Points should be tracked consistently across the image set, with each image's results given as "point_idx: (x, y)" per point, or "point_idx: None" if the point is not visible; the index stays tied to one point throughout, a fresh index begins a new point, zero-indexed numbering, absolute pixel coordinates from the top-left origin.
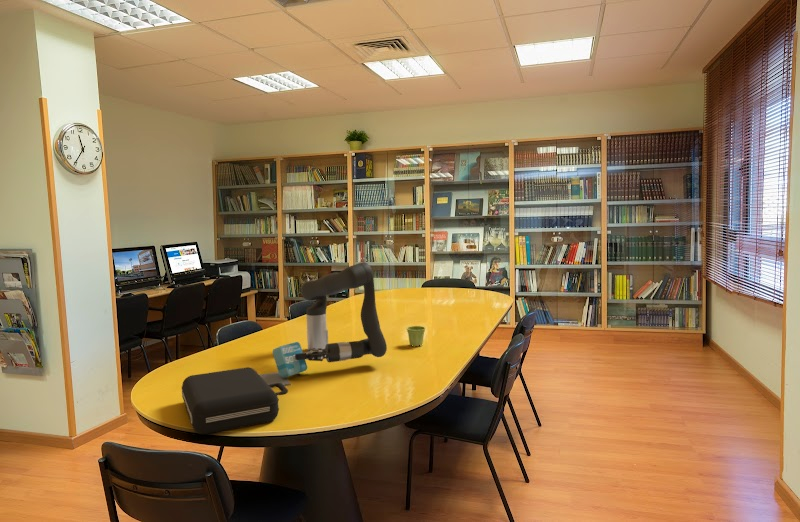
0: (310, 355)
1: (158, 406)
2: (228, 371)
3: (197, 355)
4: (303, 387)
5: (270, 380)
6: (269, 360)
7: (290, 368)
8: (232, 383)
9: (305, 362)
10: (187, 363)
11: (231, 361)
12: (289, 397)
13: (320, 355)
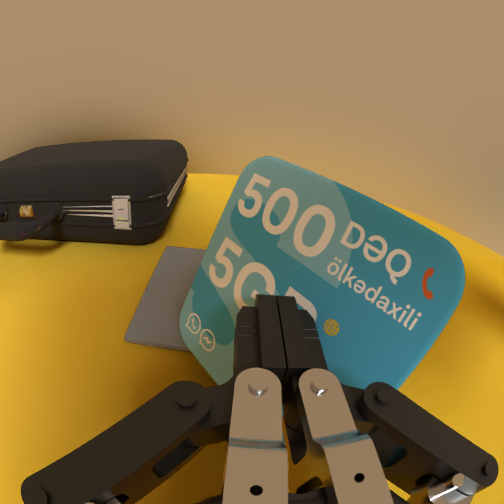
0: (155, 403)
1: (190, 178)
2: (143, 149)
3: (477, 243)
4: (48, 361)
5: None
6: (497, 329)
7: (203, 318)
8: (55, 152)
9: None
10: (434, 227)
11: (464, 267)
12: (17, 287)
13: (32, 478)
